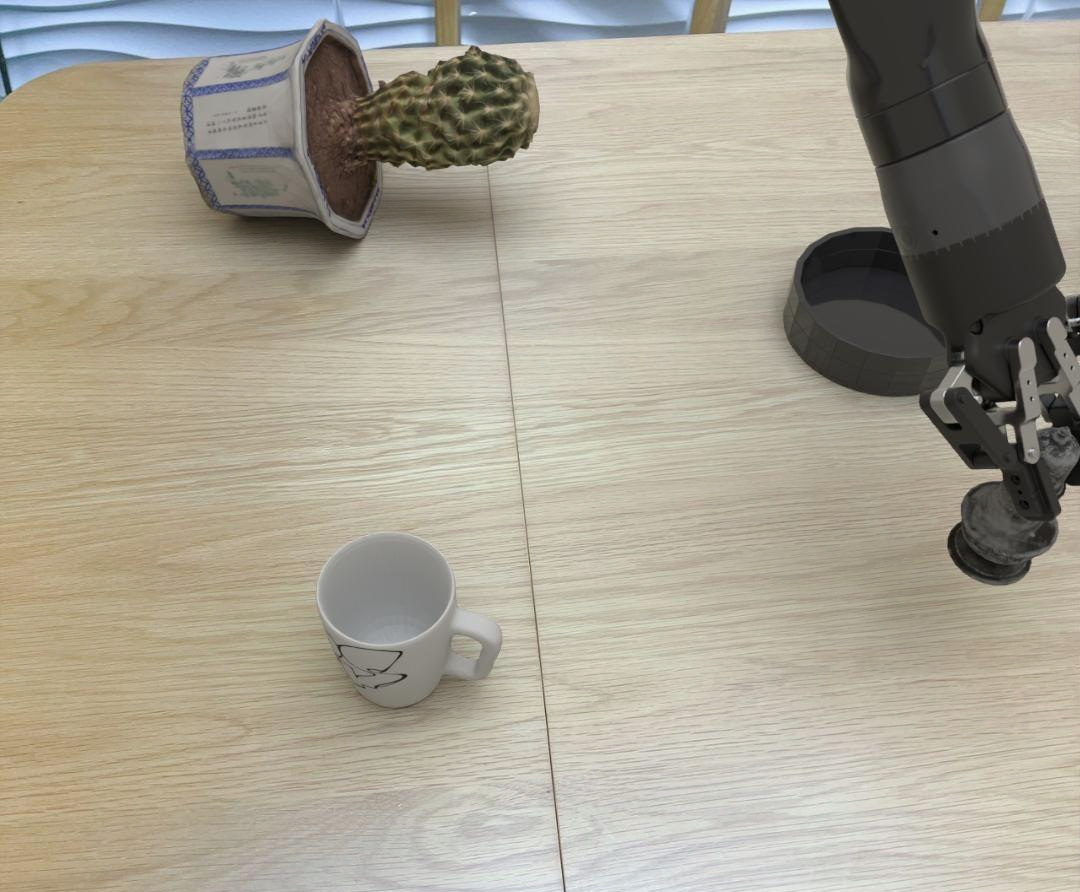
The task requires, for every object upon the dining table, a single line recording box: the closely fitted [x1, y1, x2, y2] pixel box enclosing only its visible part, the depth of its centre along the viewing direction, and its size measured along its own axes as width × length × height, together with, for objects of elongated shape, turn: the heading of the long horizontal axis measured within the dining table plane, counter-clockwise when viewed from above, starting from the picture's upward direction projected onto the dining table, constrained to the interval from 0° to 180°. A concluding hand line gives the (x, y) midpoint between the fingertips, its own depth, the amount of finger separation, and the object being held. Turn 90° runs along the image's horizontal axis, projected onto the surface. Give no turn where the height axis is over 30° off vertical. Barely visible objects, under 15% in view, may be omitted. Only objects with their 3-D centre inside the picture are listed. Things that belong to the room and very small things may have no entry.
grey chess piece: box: [946, 426, 1080, 587], centre depth 65 cm, size 6×6×12 cm
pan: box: [782, 226, 949, 397], centre depth 93 cm, size 16×16×4 cm
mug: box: [315, 531, 503, 708], centre depth 70 cm, size 11×8×10 cm
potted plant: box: [179, 17, 541, 240], centre depth 95 cm, size 18×18×30 cm
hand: (1064, 498), depth 63 cm, fingers closed on grey chess piece, 3 cm apart
